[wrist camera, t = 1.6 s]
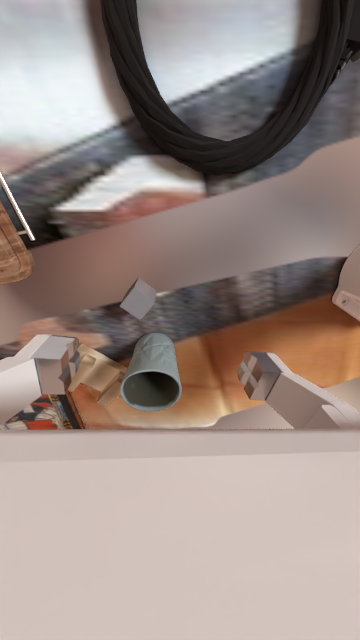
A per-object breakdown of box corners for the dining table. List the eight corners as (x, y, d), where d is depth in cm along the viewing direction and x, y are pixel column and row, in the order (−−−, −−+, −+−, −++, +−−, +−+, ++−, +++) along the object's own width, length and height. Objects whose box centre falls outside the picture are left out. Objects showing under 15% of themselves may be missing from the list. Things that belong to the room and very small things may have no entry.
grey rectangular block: (156, 290, 35) (154, 302, 30) (143, 305, 37) (140, 320, 31) (138, 277, 34) (133, 287, 29) (126, 293, 35) (119, 306, 30)
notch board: (137, 373, 44) (134, 389, 40) (118, 392, 47) (113, 410, 42) (81, 343, 39) (71, 358, 35) (63, 366, 42) (52, 383, 37)
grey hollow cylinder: (186, 347, 42) (194, 389, 31) (156, 373, 45) (154, 420, 34) (151, 320, 38) (146, 358, 28) (121, 351, 41) (107, 396, 31)
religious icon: (-26, 458, 55) (-34, 469, 53) (-134, 368, 39) (-154, 378, 36) (102, 436, 56) (100, 446, 53) (49, 339, 40) (41, 346, 37)
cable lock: (52, -437, 11) (491, -296, 13) (79, -281, 14) (425, -192, 17) (113, 164, 24) (332, 178, 26) (119, 171, 27) (313, 183, 30)
